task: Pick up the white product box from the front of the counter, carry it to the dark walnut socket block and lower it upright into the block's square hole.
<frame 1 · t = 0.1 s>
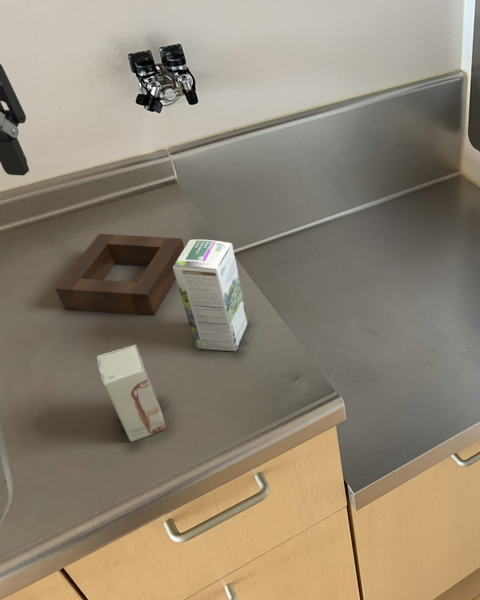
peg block: (129, 282, 93), on the countertop
syrup box: (224, 337, 85), on the countertop
white product box: (145, 421, 74), on the countertop
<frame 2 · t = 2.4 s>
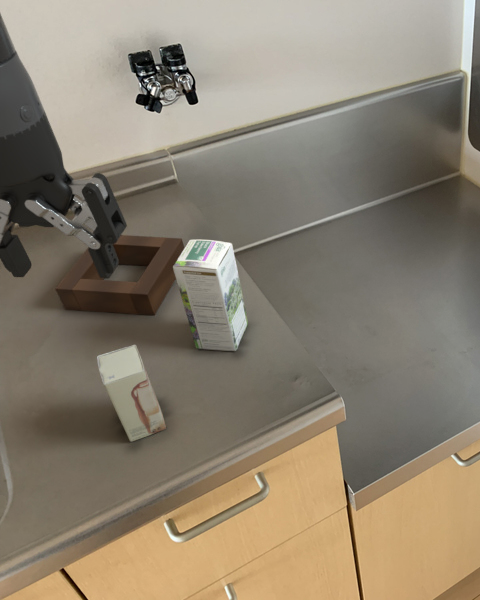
hand: (66, 272, 60), 22 cm above the countertop, tool pointing down, fingers open, 8 cm apart
nothing on the countertop moved.
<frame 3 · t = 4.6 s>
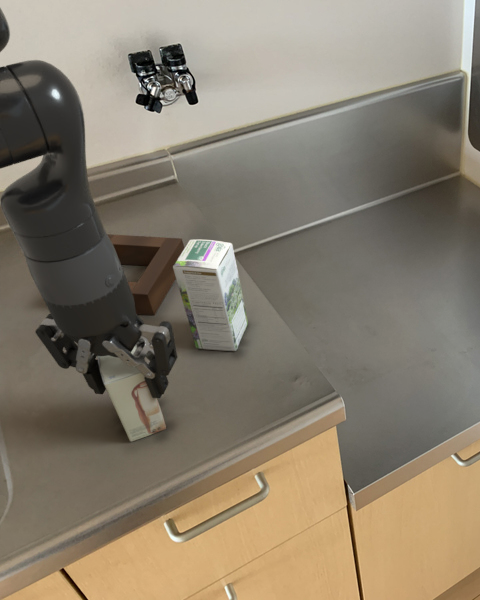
hand: (131, 390, 70), 6 cm above the countertop, tool pointing down, fingers closed on white product box, 6 cm apart
white product box: (145, 421, 74), on the countertop, touching gripper
everything else where it was.
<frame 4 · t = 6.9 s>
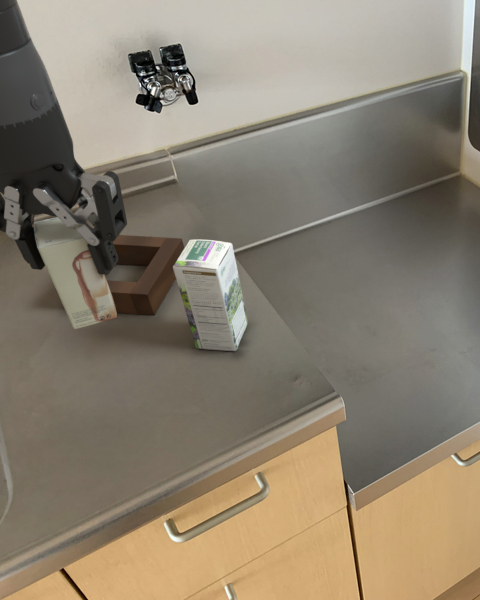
hand: (74, 266, 60), 23 cm above the countertop, tool pointing down, fingers closed on white product box, 6 cm apart
white product box: (94, 310, 64), point 17 cm above the countertop, touching gripper
everything else where it was.
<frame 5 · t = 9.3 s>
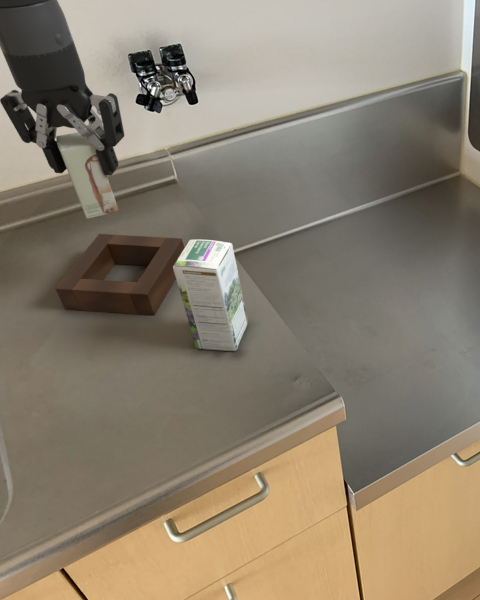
hand: (86, 171, 81), 19 cm above the countertop, tool pointing down, fingers closed on white product box, 6 cm apart
white product box: (100, 208, 85), point 13 cm above the countertop, touching gripper
everything else where it was.
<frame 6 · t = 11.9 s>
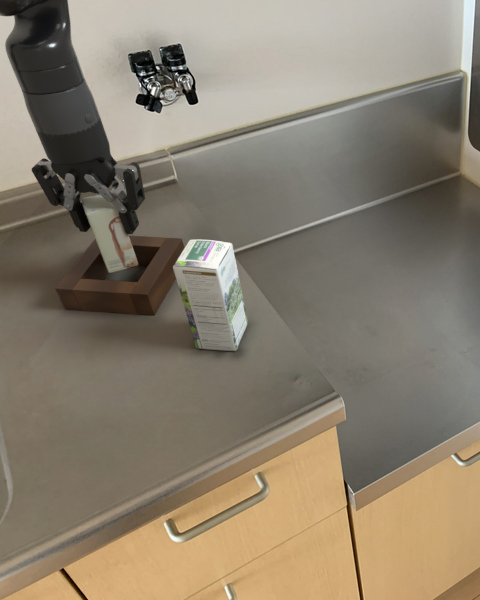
hand: (109, 229, 87), 10 cm above the countertop, tool pointing down, fingers closed on white product box, 6 cm apart
white product box: (121, 261, 91), point 4 cm above the countertop, touching gripper
everything else where it was.
when the fingers open (6 cm above the countertop, at t = 14.0 s): white product box stays where it is, resting in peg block.
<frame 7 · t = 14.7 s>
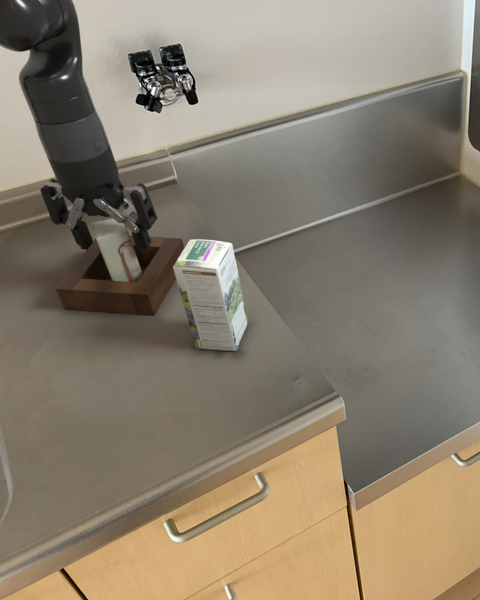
hand: (115, 248, 89), 7 cm above the countertop, tool pointing down, fingers open, 8 cm apart
white product box: (130, 283, 94), resting in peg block
everything else where it was.
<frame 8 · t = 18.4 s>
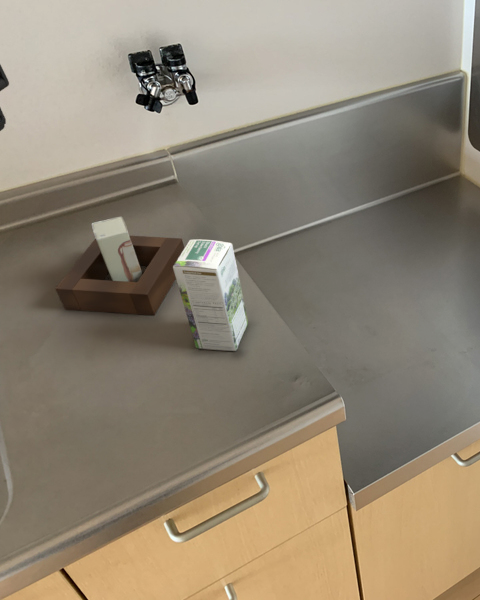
nothing on the countertop moved.
at the end: white product box 0.2 cm off-centre in the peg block, point 0.0 cm above the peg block's base; white product box tilted 0°; the gripper is holding nothing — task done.
